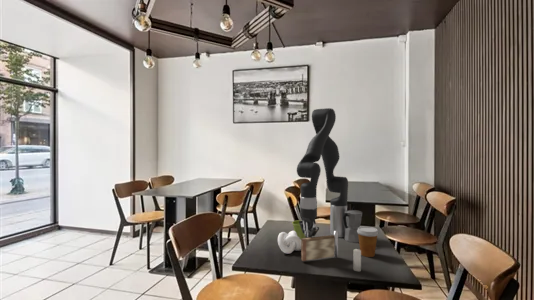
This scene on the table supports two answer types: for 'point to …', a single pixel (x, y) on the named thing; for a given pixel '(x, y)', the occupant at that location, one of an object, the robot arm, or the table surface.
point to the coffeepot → (352, 224)
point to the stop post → (357, 260)
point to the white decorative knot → (289, 242)
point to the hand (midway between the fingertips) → (308, 244)
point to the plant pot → (298, 229)
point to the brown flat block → (317, 247)
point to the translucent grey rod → (335, 244)
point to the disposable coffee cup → (367, 240)
